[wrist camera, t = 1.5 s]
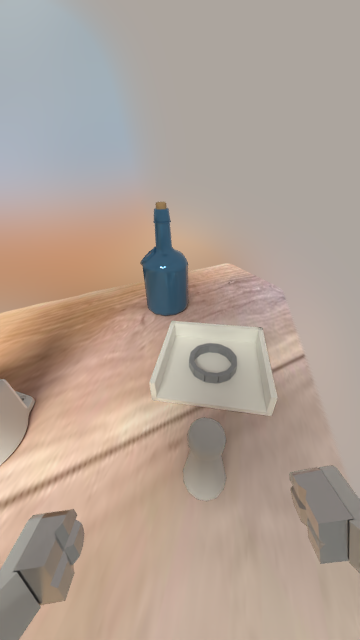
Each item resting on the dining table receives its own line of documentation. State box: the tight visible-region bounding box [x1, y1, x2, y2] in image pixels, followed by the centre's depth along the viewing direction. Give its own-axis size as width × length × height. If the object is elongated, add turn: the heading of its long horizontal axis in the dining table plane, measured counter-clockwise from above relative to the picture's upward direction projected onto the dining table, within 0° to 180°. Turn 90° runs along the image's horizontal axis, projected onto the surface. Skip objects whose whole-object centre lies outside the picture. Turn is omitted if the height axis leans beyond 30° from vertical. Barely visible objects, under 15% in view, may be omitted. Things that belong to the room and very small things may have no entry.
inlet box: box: [149, 321, 278, 416], centre depth 48 cm, size 20×22×5 cm
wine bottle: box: [141, 202, 188, 316], centre depth 64 cm, size 14×13×30 cm
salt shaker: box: [183, 417, 226, 501], centre depth 28 cm, size 6×6×13 cm
